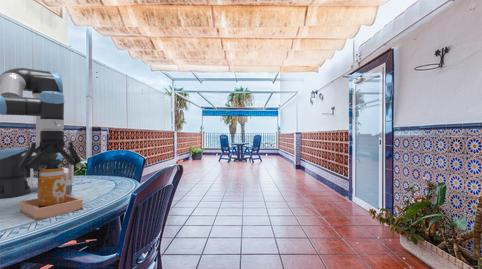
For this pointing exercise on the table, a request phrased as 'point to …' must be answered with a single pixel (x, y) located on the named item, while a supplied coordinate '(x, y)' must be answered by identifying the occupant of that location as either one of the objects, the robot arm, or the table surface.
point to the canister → (51, 183)
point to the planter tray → (50, 208)
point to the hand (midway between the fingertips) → (52, 182)
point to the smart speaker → (68, 181)
